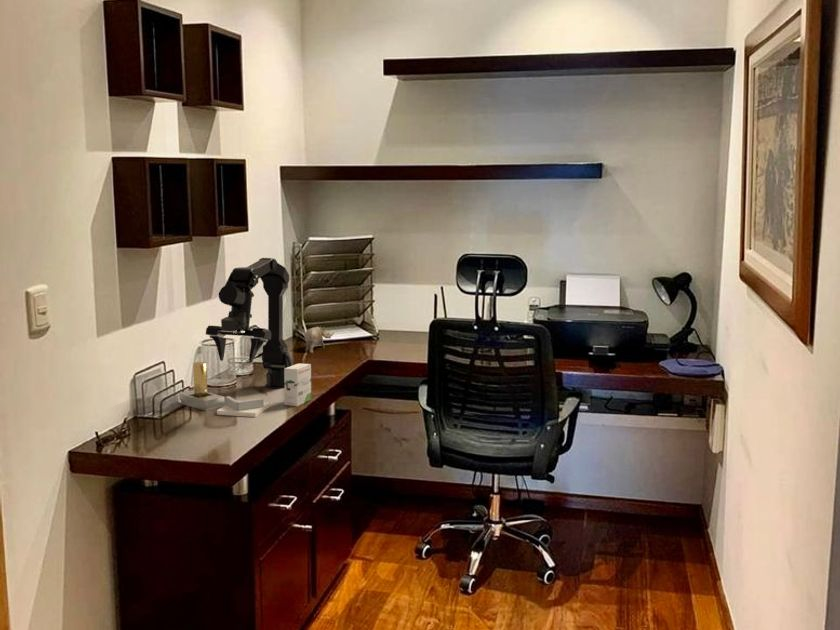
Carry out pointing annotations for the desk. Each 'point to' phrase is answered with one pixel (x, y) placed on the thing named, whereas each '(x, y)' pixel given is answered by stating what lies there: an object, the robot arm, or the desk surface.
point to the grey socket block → (202, 400)
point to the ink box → (297, 384)
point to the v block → (243, 407)
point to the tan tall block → (200, 379)
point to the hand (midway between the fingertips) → (235, 361)
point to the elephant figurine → (315, 337)
